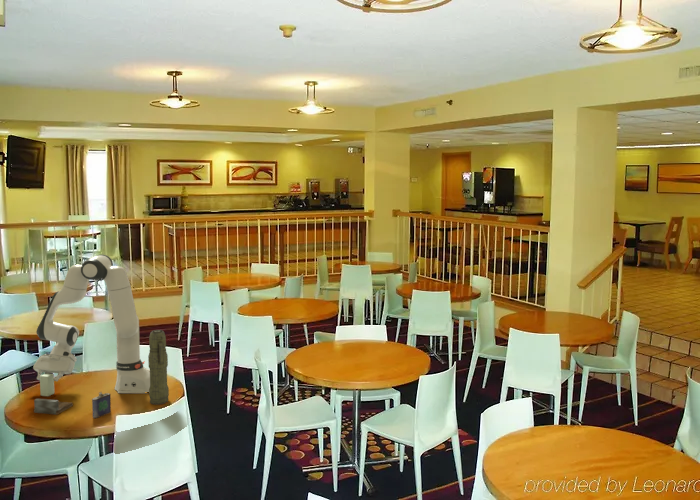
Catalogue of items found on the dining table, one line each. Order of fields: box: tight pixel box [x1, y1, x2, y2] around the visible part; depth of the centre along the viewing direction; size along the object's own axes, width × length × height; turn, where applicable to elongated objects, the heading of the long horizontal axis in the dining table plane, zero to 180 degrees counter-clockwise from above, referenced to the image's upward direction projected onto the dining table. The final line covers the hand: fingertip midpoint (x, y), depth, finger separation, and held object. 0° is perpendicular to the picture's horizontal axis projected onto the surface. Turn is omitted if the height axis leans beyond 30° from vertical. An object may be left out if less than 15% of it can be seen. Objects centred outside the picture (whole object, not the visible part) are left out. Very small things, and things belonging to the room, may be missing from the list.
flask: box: [91, 391, 112, 419], centre depth 268 cm, size 9×3×11 cm, turn 151°
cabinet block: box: [39, 372, 55, 397], centre depth 293 cm, size 4×4×10 cm
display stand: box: [33, 398, 74, 415], centre depth 274 cm, size 12×11×6 cm
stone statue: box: [147, 329, 170, 405], centre depth 284 cm, size 9×12×35 cm
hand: (46, 379), depth 293 cm, fingers open, 8 cm apart
